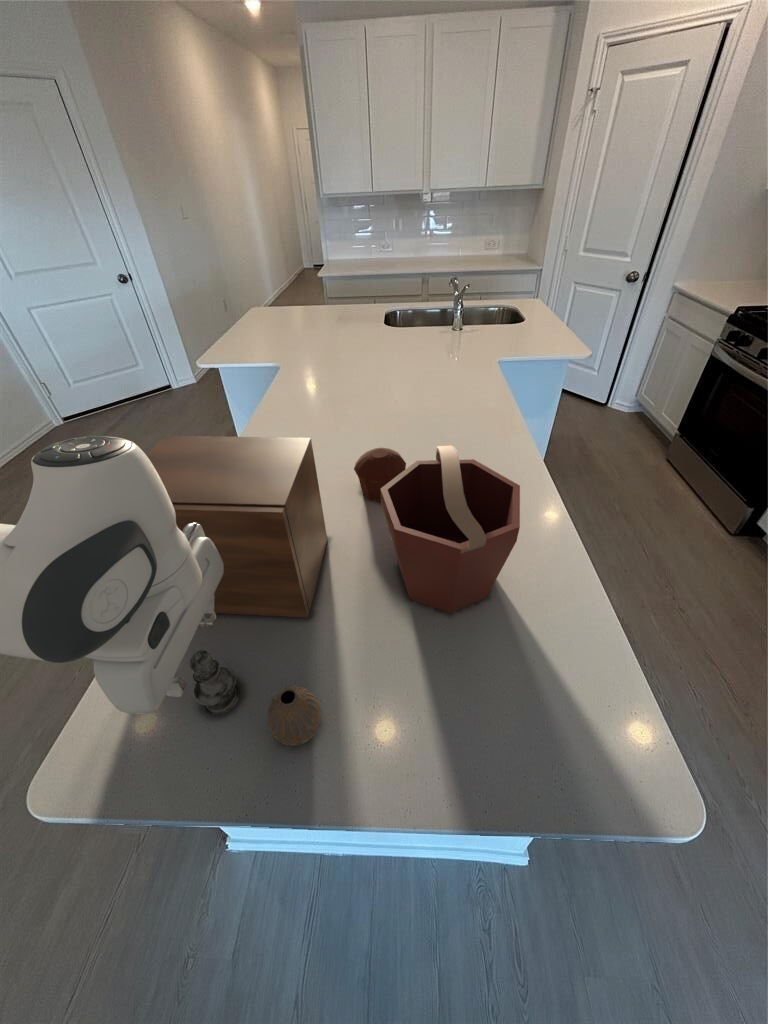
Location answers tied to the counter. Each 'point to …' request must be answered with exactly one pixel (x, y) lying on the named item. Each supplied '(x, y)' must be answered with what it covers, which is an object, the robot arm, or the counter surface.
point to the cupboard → (251, 484)
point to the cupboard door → (251, 559)
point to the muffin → (378, 470)
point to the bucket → (451, 528)
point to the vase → (294, 716)
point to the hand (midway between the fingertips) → (194, 654)
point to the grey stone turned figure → (213, 684)
